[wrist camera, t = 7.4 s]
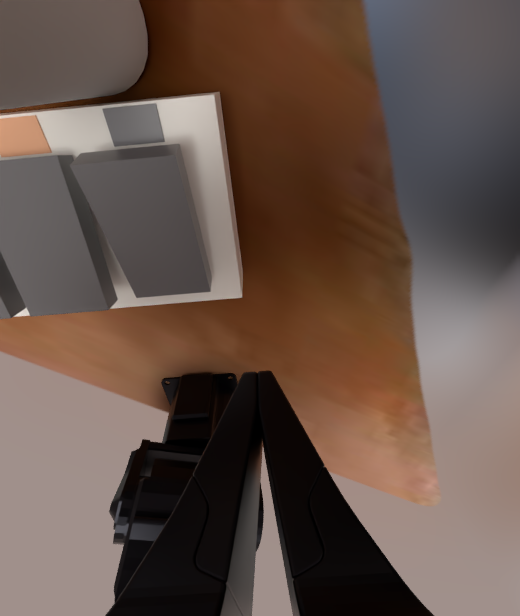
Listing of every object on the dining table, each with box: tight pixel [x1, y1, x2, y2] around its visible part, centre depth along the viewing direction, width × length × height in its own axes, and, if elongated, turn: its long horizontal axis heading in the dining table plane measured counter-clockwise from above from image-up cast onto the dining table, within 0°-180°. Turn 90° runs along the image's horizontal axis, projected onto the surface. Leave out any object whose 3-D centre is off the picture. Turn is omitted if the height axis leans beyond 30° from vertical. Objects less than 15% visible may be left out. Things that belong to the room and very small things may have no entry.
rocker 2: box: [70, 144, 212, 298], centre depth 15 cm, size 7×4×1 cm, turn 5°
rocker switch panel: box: [0, 92, 243, 317], centre depth 17 cm, size 10×17×3 cm, turn 95°
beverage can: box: [0, 0, 148, 110], centre depth 9 cm, size 5×5×12 cm
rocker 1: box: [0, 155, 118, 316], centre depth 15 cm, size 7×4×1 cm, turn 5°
